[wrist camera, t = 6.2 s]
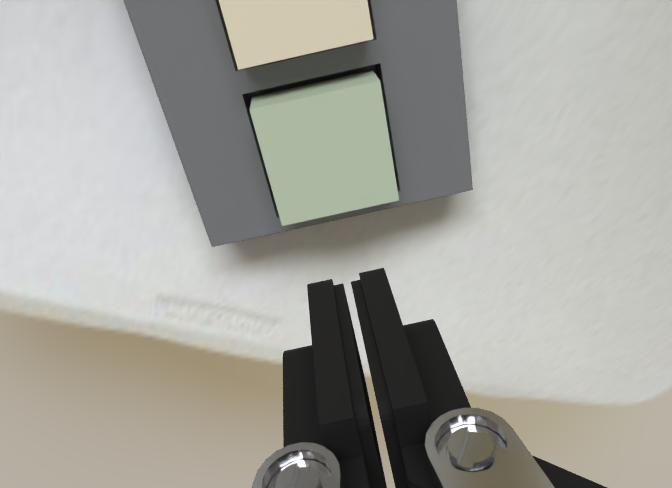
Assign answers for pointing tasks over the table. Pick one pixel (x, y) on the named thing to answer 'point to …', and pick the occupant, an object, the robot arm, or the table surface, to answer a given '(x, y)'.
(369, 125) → the sage key
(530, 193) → the table surface
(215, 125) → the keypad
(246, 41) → the sand key
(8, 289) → the table surface
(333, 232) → the table surface
